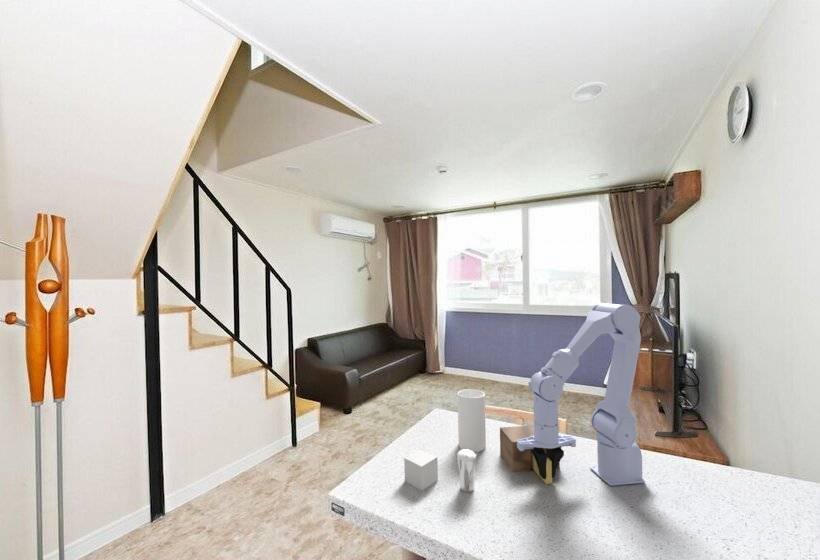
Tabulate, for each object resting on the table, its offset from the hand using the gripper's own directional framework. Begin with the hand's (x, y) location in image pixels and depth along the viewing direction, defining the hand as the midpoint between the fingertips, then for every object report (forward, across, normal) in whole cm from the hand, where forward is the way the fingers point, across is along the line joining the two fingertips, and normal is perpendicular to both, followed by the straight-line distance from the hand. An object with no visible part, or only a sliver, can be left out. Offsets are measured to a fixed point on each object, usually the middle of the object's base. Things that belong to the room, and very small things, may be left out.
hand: (546, 476), depth 86 cm
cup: (+2, +13, -21) cm, 25 cm away
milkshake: (+2, +20, 0) cm, 20 cm away
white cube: (+2, +31, -5) cm, 31 cm away
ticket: (+1, 0, -6) cm, 6 cm away
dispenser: (+1, 0, -10) cm, 10 cm away
